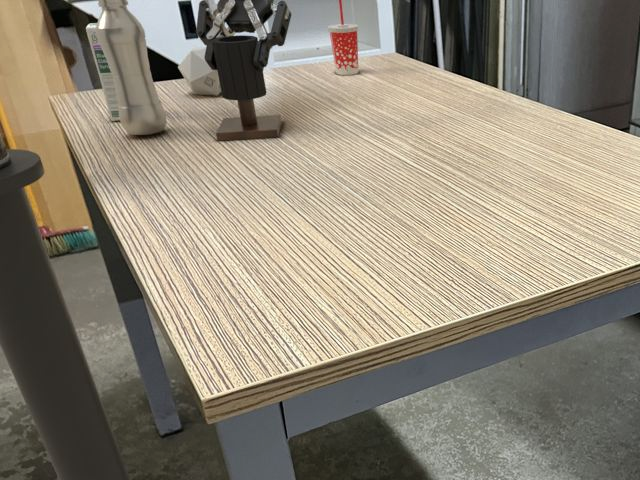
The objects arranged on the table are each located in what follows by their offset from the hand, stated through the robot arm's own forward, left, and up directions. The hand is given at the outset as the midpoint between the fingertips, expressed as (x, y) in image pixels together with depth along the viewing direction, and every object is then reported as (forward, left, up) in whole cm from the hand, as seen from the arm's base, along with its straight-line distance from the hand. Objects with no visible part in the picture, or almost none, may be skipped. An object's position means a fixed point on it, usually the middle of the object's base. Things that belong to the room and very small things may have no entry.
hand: (235, 67), depth 104 cm
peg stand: (0, +1, -10) cm, 10 cm away
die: (-10, +30, -10) cm, 33 cm away
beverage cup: (+16, +43, -10) cm, 48 cm away
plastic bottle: (-16, +3, -10) cm, 19 cm away
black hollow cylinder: (0, +2, -4) cm, 5 cm away
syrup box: (-21, +15, -10) cm, 28 cm away
